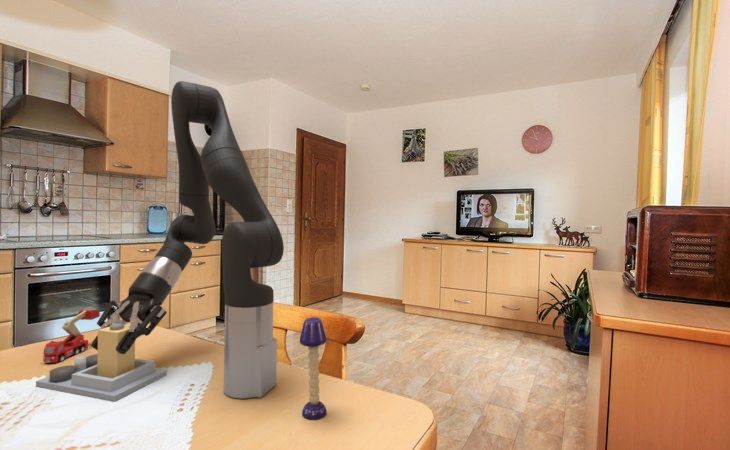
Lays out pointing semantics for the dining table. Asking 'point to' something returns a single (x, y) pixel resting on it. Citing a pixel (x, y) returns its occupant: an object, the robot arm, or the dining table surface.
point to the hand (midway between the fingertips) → (107, 350)
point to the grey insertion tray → (100, 379)
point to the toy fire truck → (69, 339)
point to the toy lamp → (313, 365)
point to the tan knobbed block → (113, 352)
